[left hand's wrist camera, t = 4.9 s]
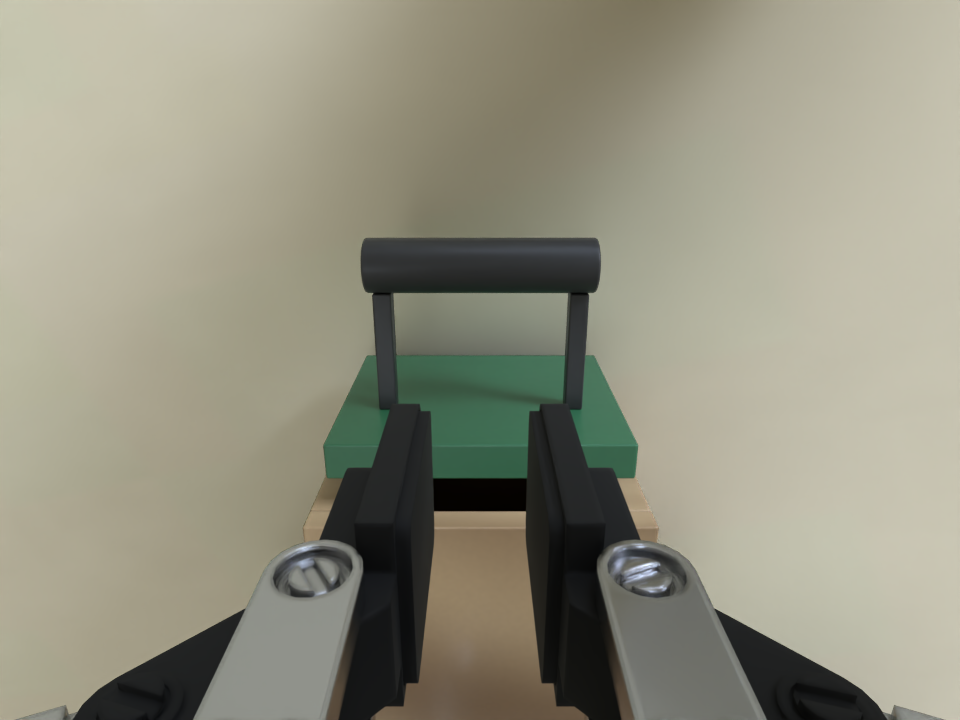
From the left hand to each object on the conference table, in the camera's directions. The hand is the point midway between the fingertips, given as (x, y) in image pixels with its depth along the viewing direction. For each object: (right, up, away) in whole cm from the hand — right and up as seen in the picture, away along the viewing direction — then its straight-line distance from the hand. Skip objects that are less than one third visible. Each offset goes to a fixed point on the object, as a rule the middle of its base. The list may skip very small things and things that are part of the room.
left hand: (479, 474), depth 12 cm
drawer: (0, 0, +15) cm, 15 cm away
